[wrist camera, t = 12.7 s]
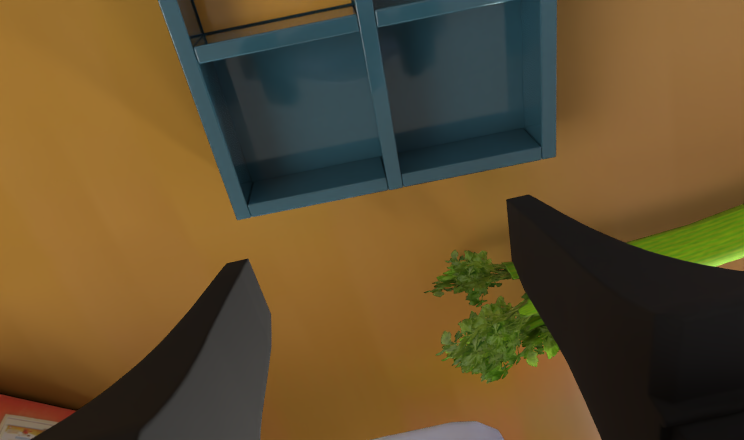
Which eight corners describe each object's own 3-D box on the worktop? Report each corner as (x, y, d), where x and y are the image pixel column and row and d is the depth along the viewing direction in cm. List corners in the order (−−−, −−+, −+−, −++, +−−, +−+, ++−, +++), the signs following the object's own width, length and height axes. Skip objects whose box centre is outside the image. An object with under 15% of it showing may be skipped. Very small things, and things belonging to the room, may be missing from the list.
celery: (953, 156, 29) (430, 351, 29) (965, 26, 26) (389, 243, 27) (1112, 193, 23) (461, 433, 24) (1150, 32, 20) (413, 307, 21)
